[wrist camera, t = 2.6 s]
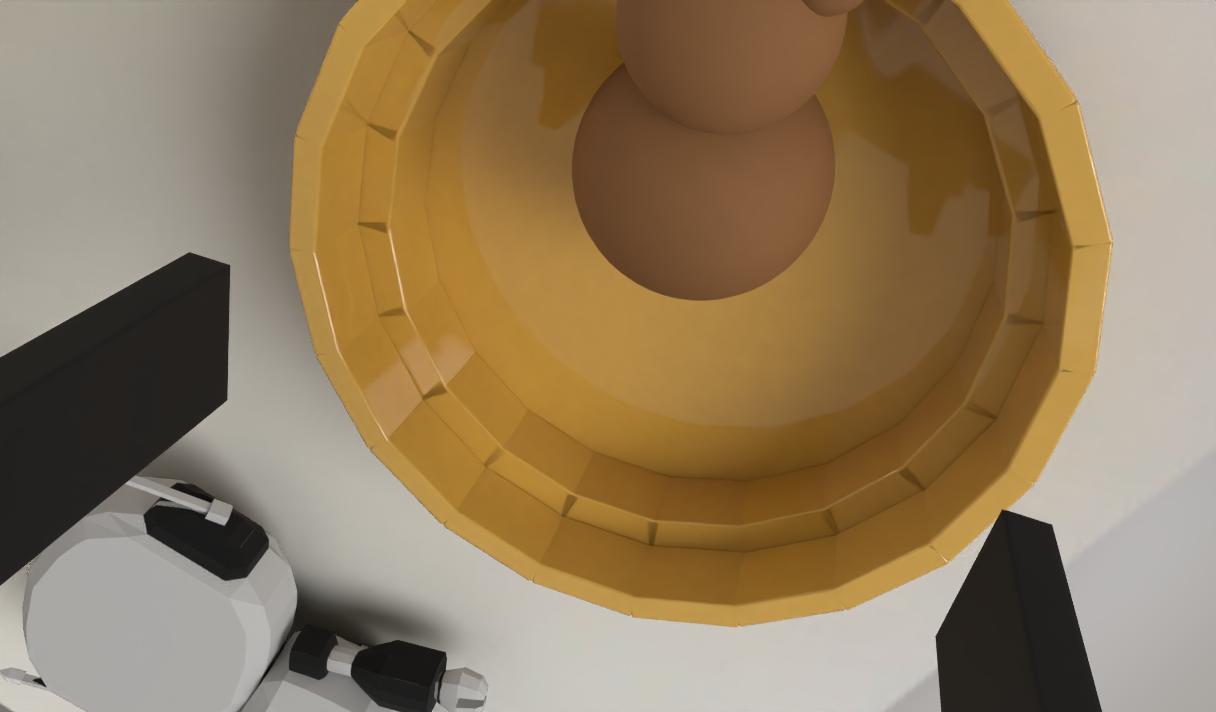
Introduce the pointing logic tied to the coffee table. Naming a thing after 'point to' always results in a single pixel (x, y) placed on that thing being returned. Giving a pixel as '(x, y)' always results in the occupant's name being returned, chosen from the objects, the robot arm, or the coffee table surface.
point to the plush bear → (710, 142)
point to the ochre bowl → (701, 310)
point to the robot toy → (203, 621)
